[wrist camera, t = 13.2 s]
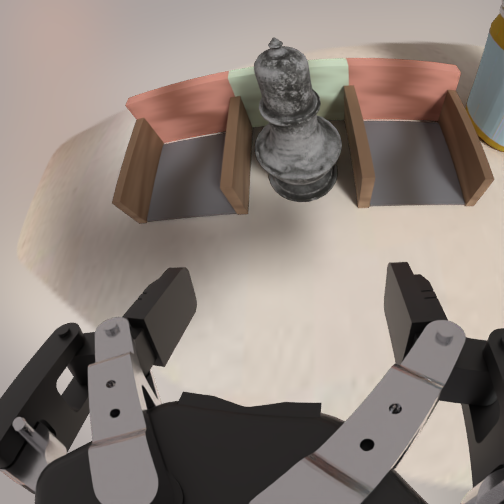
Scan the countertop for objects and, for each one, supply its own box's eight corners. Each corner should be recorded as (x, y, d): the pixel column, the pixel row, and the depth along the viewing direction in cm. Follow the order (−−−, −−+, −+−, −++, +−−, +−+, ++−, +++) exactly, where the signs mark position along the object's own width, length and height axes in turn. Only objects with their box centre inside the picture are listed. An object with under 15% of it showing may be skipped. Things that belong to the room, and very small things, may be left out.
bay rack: (441, 113, 21) (456, 65, 15) (473, 206, 18) (506, 163, 12) (159, 136, 28) (128, 97, 22) (139, 223, 25) (95, 191, 19)
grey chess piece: (268, 211, 22) (211, 86, 11) (262, 149, 24) (214, 27, 13) (348, 199, 21) (354, 61, 10) (332, 137, 23) (320, 7, 12)
